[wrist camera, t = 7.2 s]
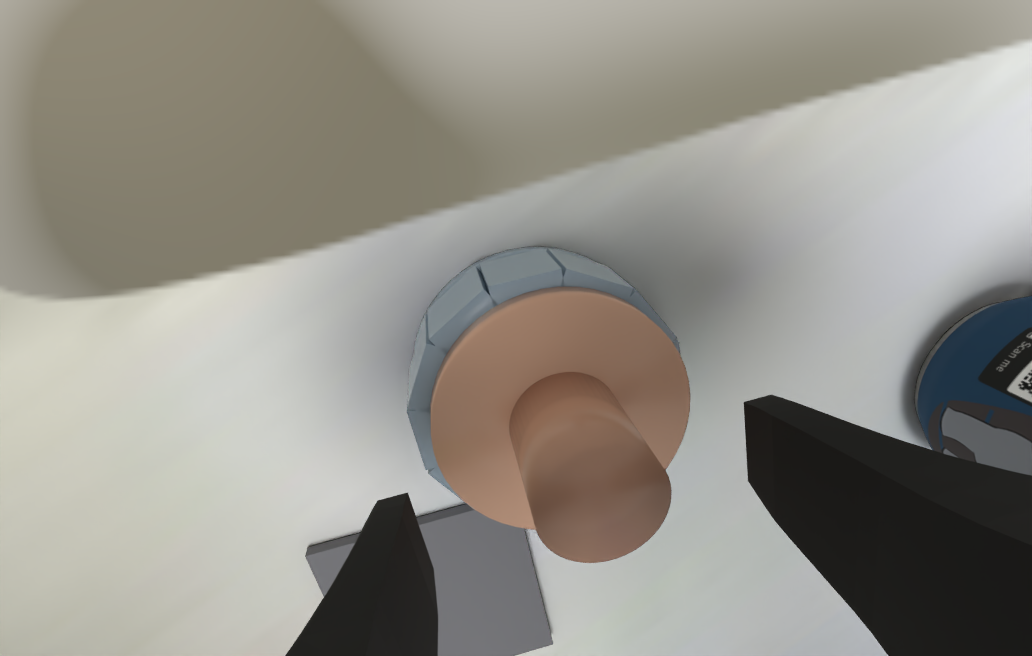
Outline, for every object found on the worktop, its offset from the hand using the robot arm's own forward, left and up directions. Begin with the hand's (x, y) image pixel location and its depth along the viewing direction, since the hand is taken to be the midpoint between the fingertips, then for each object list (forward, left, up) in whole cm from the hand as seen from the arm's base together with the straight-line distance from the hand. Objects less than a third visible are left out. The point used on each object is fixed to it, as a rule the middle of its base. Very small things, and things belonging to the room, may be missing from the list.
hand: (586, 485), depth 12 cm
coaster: (+5, +8, -6) cm, 11 cm away
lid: (0, 0, -3) cm, 3 cm away
